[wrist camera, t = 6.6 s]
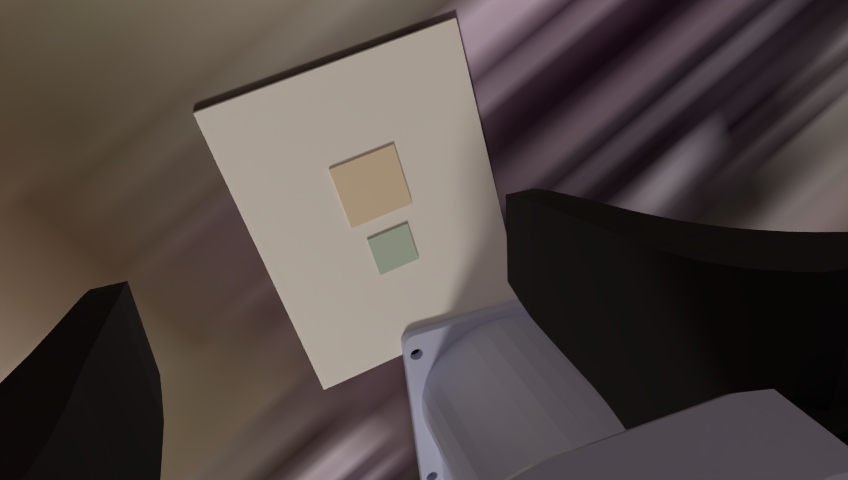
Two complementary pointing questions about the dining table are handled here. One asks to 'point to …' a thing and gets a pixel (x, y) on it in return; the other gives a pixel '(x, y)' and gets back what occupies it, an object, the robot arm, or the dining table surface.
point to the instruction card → (367, 196)
